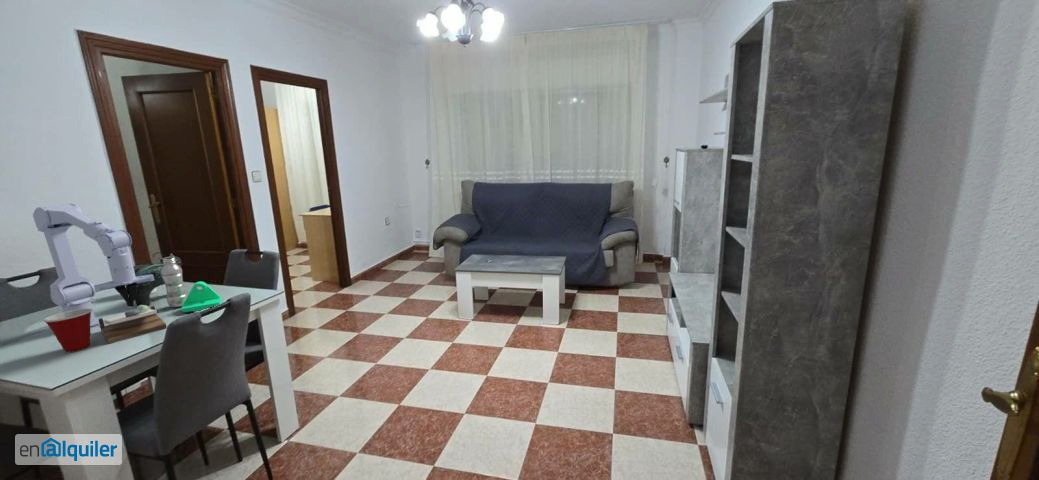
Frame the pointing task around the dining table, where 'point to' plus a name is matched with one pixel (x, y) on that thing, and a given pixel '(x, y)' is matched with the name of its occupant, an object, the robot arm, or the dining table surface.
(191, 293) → the green triangular piece
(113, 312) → the dining table surface
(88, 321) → the plastic cup
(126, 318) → the instrument deck
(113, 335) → the walnut base
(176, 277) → the plastic bottle
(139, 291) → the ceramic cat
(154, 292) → the jar
